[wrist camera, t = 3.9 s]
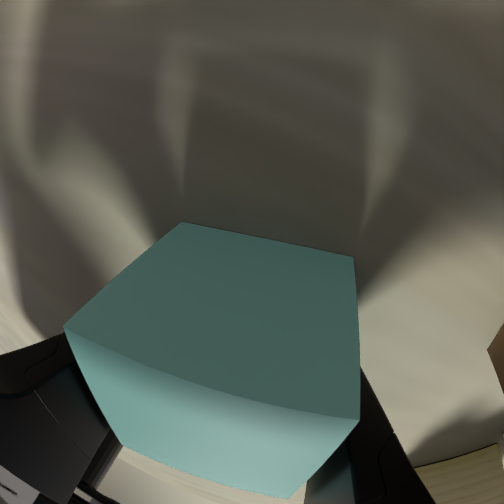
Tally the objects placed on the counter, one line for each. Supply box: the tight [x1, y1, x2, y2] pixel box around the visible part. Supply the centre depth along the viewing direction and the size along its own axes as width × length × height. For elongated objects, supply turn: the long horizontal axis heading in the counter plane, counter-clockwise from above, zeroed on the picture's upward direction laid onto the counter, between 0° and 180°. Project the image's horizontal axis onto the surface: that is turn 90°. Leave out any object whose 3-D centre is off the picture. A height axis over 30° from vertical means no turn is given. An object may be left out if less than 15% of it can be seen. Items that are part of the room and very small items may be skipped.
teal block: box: [63, 222, 360, 499], centre depth 7 cm, size 5×5×5 cm
